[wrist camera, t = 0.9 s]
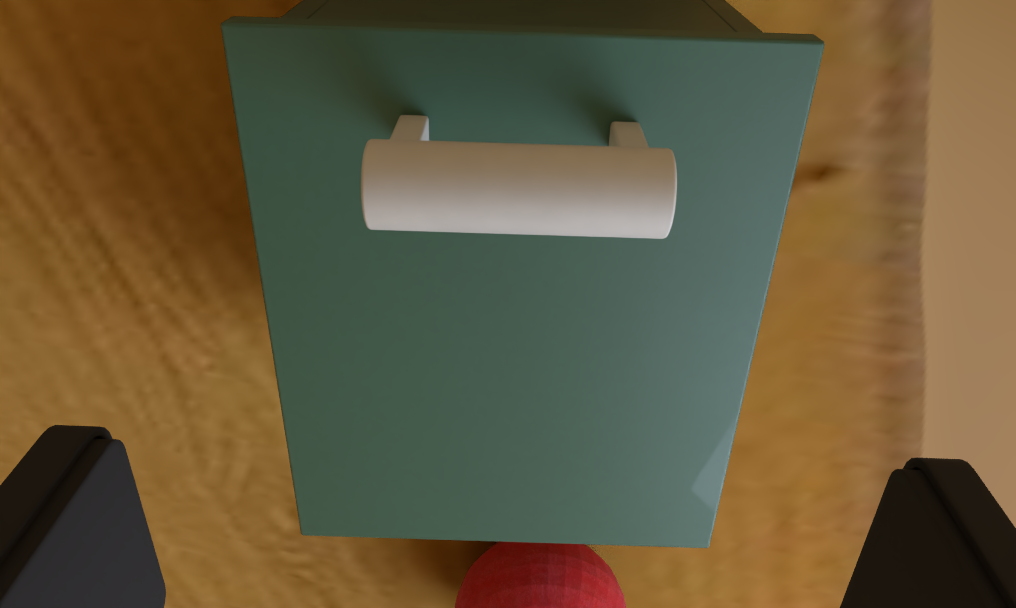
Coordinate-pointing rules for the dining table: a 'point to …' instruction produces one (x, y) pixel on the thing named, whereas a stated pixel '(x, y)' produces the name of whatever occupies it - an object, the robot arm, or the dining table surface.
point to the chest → (538, 13)
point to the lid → (514, 266)
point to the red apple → (539, 578)
